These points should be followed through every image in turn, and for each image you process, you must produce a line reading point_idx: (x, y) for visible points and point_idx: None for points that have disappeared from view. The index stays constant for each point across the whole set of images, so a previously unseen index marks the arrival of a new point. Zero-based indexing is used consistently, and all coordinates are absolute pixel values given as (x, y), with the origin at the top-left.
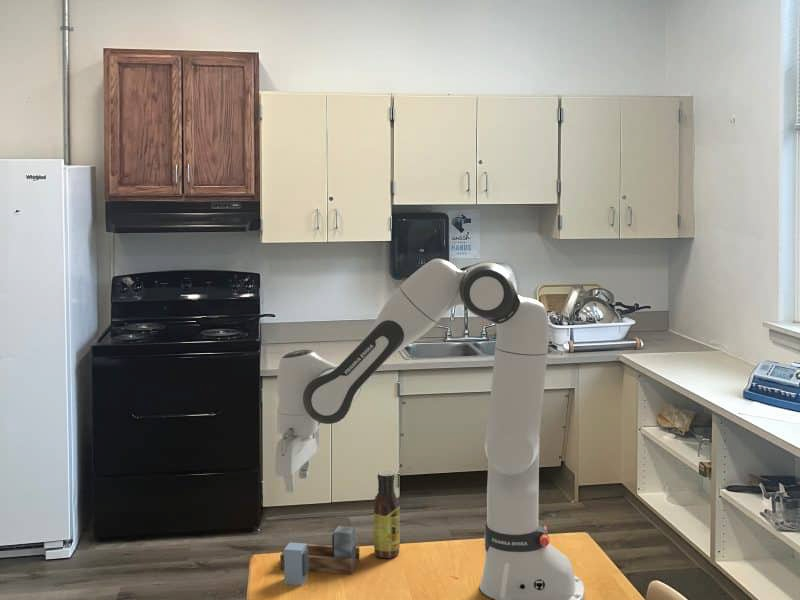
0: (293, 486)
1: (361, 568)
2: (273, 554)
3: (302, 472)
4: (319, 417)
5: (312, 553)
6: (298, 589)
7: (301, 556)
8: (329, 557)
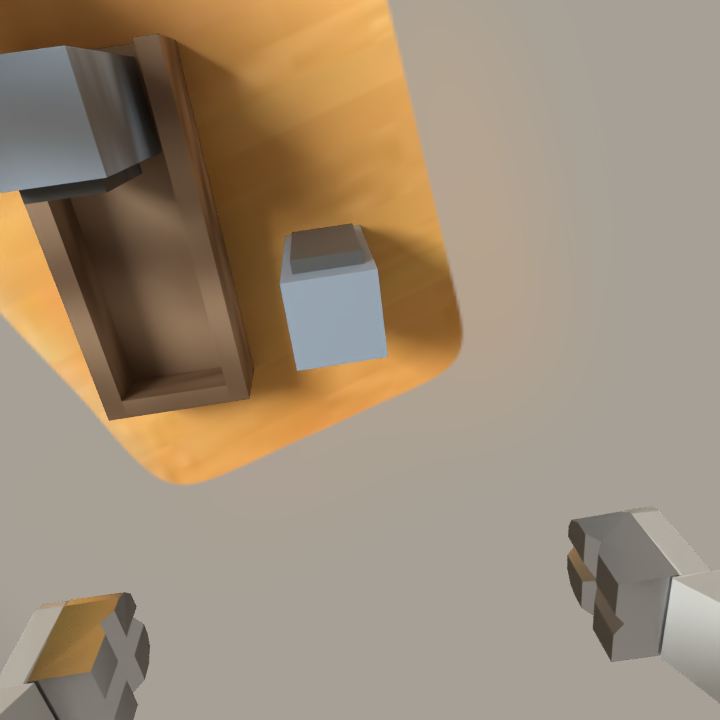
0: (688, 548)
1: (85, 15)
2: (141, 453)
3: (112, 691)
4: None
5: (103, 304)
6: (400, 221)
7: (372, 259)
8: (180, 174)
